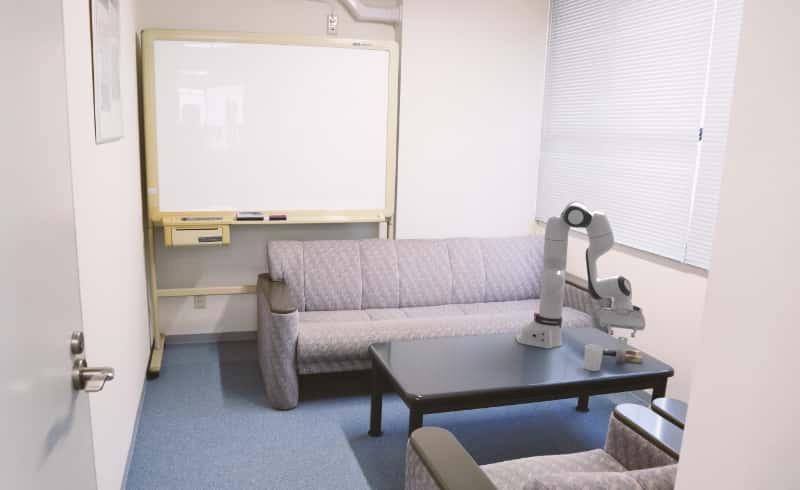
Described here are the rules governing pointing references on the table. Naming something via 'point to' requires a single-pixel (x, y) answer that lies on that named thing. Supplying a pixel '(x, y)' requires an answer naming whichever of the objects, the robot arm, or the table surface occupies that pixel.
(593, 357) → the white cup
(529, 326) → the robot arm
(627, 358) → the socket block
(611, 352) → the pin
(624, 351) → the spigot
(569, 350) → the table surface
